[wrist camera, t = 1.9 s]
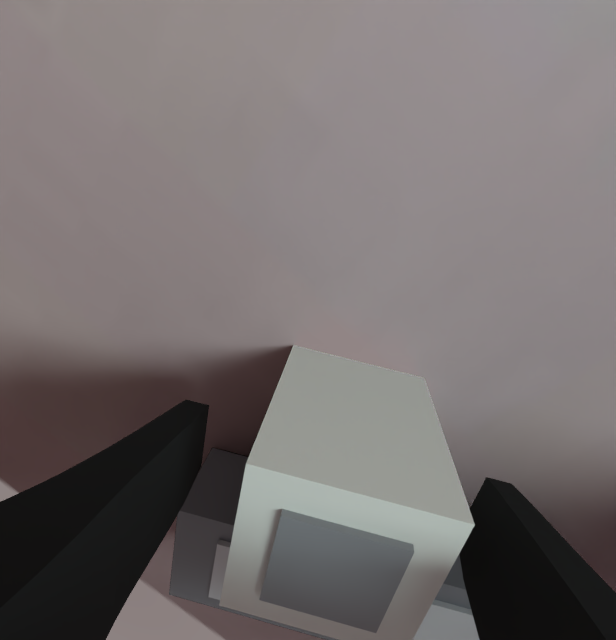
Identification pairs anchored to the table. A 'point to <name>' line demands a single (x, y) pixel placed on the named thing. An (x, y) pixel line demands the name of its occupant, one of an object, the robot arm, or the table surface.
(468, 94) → the table surface
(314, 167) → the table surface
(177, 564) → the power strip
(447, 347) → the table surface
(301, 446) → the charger plug
